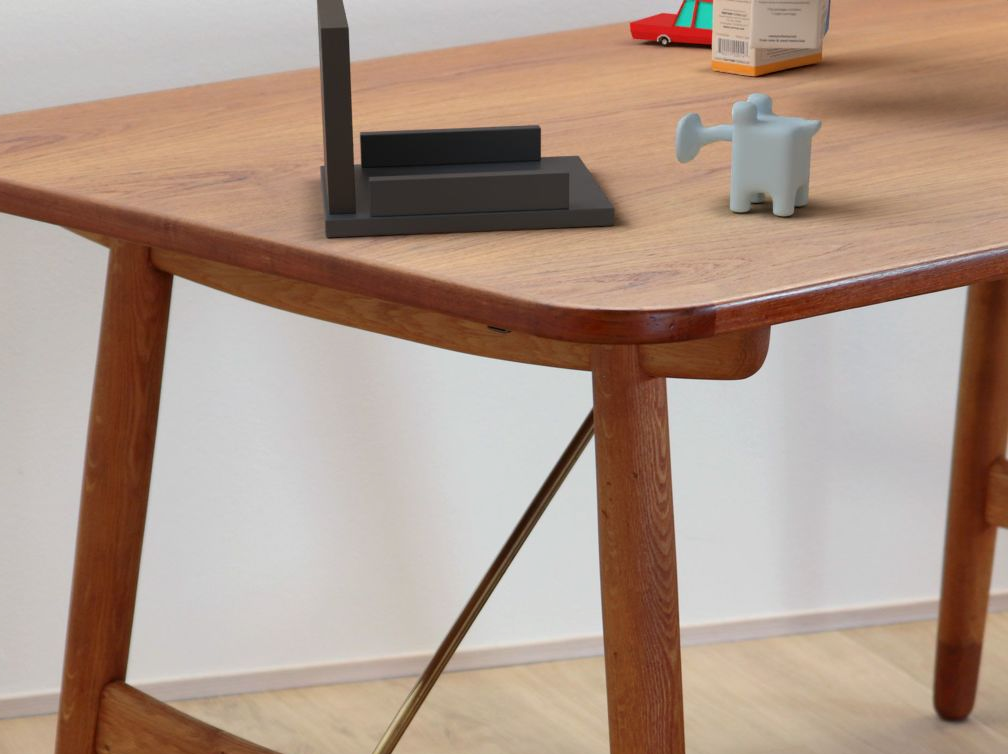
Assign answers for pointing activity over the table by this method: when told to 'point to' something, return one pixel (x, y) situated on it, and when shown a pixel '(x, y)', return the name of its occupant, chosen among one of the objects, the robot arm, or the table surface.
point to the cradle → (439, 168)
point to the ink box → (788, 23)
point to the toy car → (678, 24)
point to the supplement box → (734, 44)
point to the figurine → (757, 153)
